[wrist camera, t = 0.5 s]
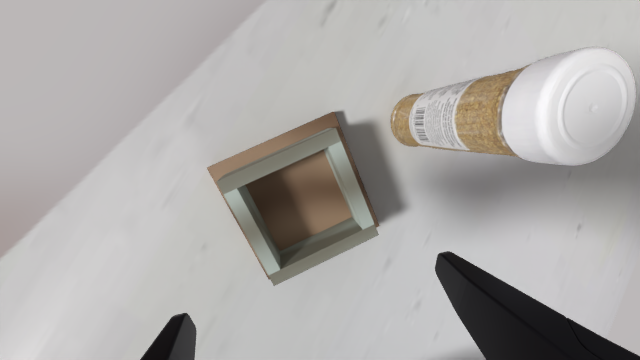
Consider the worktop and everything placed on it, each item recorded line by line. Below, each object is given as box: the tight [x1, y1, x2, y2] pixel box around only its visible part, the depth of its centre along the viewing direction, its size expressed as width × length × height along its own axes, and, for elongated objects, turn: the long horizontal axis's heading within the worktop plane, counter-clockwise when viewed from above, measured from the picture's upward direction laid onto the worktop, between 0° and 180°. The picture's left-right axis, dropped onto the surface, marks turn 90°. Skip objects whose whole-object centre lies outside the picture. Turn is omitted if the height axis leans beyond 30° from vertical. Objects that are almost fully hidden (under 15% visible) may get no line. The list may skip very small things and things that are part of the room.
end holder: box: [207, 112, 379, 286], centre depth 20 cm, size 11×11×4 cm
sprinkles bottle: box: [391, 47, 636, 166], centre depth 16 cm, size 5×5×14 cm
